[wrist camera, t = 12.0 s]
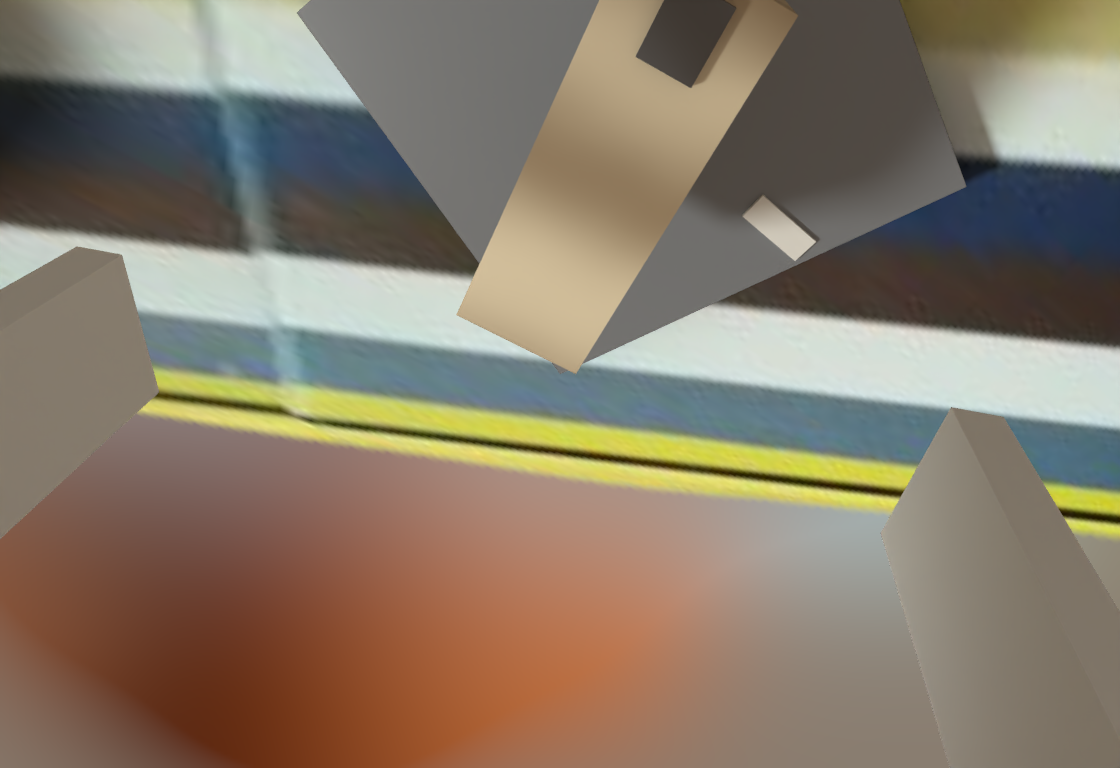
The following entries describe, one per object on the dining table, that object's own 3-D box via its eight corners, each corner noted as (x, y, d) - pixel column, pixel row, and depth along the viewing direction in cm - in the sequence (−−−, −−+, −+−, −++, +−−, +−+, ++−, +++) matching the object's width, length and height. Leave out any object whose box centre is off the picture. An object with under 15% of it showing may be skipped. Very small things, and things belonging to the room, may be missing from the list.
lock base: (564, 358, 38) (545, 426, 33) (312, 8, 30) (238, 29, 25) (955, 174, 30) (1006, 229, 25) (752, -382, 22) (769, -464, 17)
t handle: (596, 292, 28) (574, 378, 23) (498, 241, 28) (454, 319, 23) (775, -11, 22) (799, 17, 16) (649, -86, 21) (635, -81, 16)
